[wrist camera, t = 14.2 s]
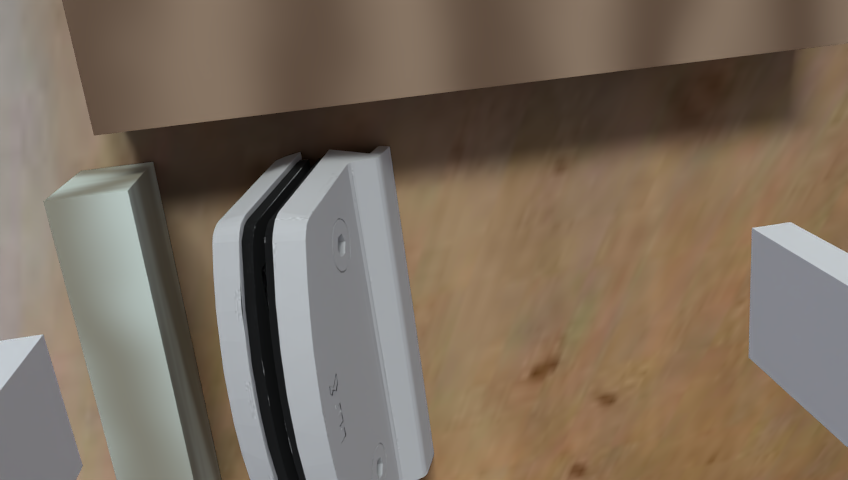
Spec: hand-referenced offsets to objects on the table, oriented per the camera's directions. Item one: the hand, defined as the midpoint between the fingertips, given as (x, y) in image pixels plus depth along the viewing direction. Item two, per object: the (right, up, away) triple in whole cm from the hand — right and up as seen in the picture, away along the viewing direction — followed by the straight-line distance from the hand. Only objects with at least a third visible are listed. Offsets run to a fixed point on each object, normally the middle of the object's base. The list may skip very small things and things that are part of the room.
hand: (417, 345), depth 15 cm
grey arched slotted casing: (-4, -2, +23) cm, 23 cm away
